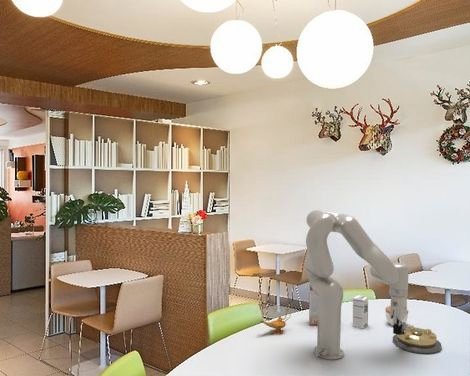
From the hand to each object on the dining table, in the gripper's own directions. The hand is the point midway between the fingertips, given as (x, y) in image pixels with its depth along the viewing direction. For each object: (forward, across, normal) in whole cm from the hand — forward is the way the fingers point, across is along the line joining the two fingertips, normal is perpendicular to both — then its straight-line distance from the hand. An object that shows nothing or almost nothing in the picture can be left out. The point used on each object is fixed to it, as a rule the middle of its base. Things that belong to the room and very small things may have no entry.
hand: (397, 333), depth 191 cm
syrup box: (+7, +17, +22) cm, 29 cm away
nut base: (+7, +10, -6) cm, 13 cm away
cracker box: (+7, +9, +38) cm, 40 cm away
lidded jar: (+7, +30, +8) cm, 32 cm away
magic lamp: (+7, -15, +52) cm, 54 cm away
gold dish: (+5, +10, -6) cm, 12 cm away
